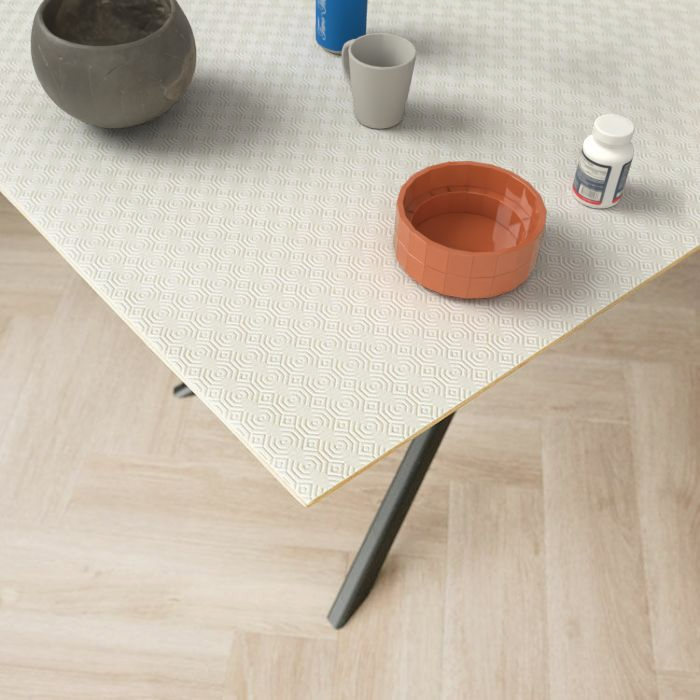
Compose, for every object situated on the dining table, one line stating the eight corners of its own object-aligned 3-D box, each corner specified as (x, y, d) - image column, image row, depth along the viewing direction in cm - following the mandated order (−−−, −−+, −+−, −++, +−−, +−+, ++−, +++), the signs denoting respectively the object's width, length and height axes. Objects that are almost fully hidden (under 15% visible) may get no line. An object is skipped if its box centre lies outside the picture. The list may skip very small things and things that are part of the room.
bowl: (186, 59, 114) (174, -40, 105) (216, 141, 103) (206, 37, 93) (40, 79, 110) (14, -22, 101) (55, 167, 99) (28, 61, 89)
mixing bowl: (540, 219, 95) (551, 173, 91) (528, 314, 86) (540, 267, 81) (407, 198, 97) (411, 151, 93) (381, 288, 88) (384, 241, 83)
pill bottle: (608, 177, 100) (629, 107, 94) (628, 206, 97) (650, 136, 90) (563, 182, 100) (581, 112, 93) (581, 212, 96) (601, 142, 90)
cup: (378, 143, 103) (382, 76, 97) (319, 105, 108) (319, 39, 102) (424, 117, 107) (431, 51, 101) (365, 82, 112) (368, 17, 105)
